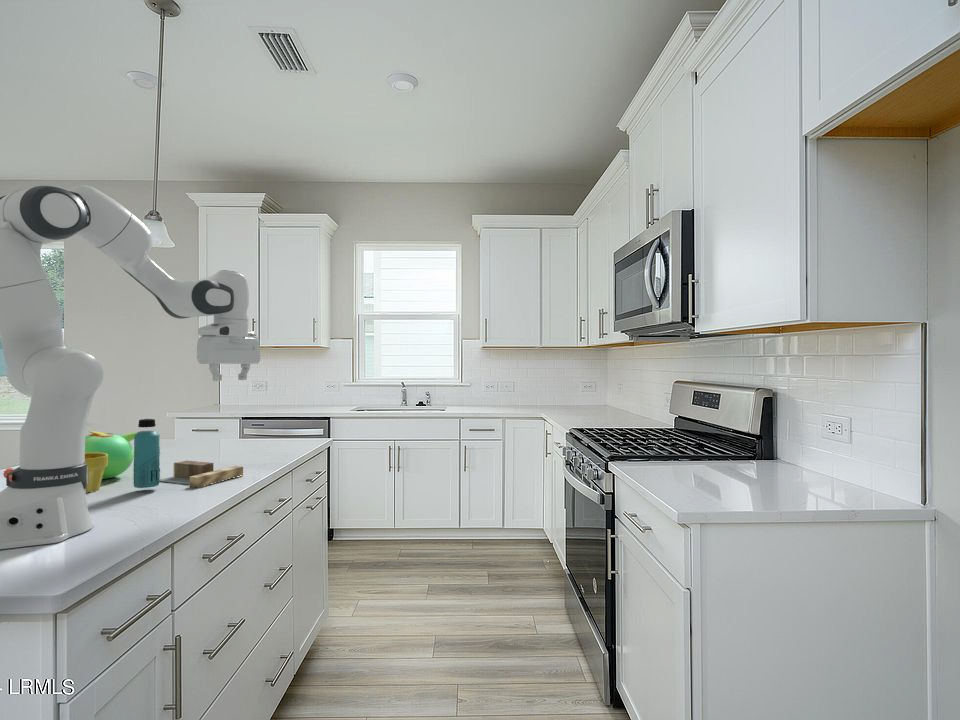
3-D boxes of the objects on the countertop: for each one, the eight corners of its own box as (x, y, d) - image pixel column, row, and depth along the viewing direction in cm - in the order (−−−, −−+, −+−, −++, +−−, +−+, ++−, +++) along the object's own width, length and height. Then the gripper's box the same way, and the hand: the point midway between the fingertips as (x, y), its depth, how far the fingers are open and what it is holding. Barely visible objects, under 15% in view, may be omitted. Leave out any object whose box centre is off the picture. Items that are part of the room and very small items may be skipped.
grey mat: (193, 485, 165) (193, 484, 165) (157, 481, 169) (157, 480, 169) (229, 476, 178) (229, 475, 178) (194, 472, 183) (194, 471, 183)
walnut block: (202, 465, 170) (173, 462, 173) (201, 480, 170) (173, 477, 173) (213, 462, 174) (185, 460, 178) (213, 477, 174) (185, 474, 178)
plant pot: (97, 494, 153) (98, 458, 153) (54, 495, 150) (54, 459, 150) (113, 486, 163) (114, 452, 163) (73, 487, 160) (73, 452, 160)
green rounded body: (52, 481, 167) (53, 431, 167) (105, 471, 183) (105, 425, 183) (98, 486, 162) (99, 435, 162) (148, 475, 178) (149, 428, 178)
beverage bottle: (151, 493, 154) (152, 420, 154) (126, 493, 154) (128, 420, 154) (164, 488, 161) (165, 417, 161) (141, 487, 161) (142, 417, 161)
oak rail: (197, 488, 162) (197, 477, 162) (189, 487, 163) (189, 476, 163) (243, 476, 179) (243, 466, 179) (235, 475, 180) (235, 465, 180)
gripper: (248, 332, 167) (247, 379, 167) (192, 328, 148) (191, 381, 148) (266, 332, 165) (265, 379, 165) (211, 328, 146) (211, 381, 146)
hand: (230, 380), depth 156 cm, fingers open, 8 cm apart
